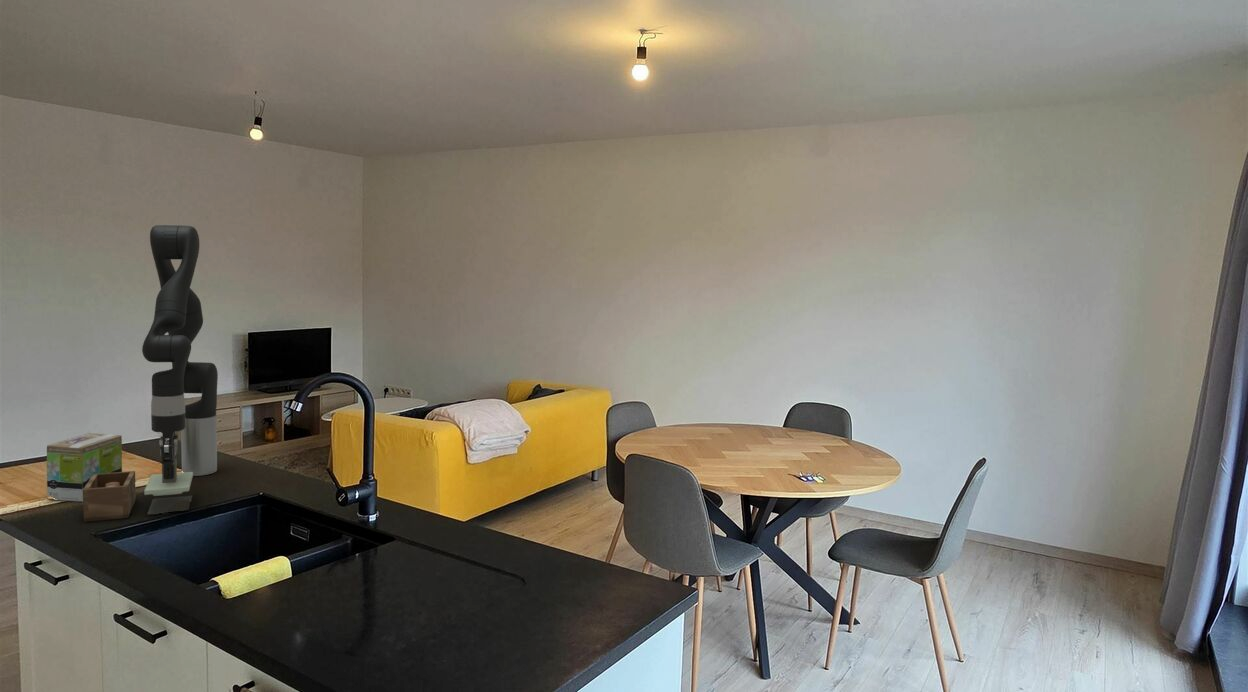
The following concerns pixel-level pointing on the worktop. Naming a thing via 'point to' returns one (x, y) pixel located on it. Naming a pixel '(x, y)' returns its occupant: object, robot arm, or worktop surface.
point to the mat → (165, 504)
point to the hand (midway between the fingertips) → (169, 476)
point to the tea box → (80, 463)
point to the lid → (169, 482)
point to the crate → (109, 496)
